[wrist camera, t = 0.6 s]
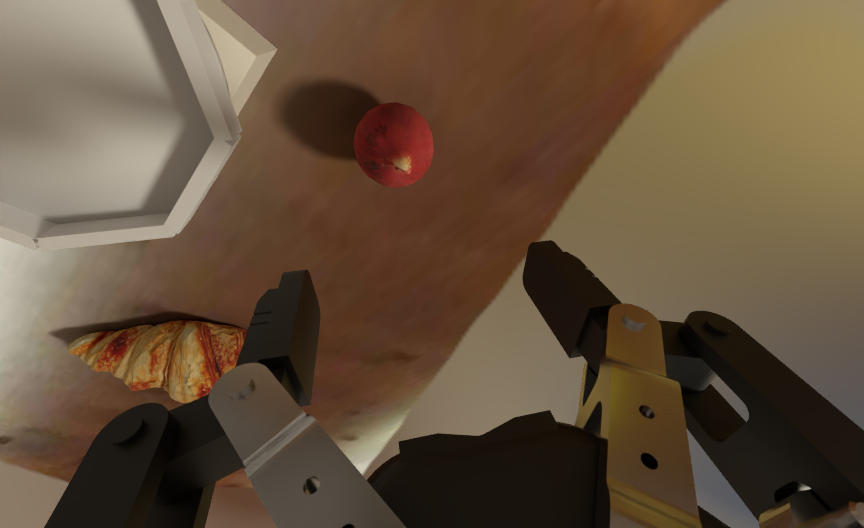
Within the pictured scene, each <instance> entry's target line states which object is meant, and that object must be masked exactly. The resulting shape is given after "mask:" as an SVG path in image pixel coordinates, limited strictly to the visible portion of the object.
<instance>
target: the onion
mask: <svg viewBox="0 0 864 528" xmlns="http://www.w3.org/2000/svg"><path fill="white" fill-rule="evenodd" d="M353 146H354V150H355V154H356V159H357V162H358V164H359V166H360V167H361V168H362V169H363V171H364V172H365V173H366V174H367V176H368V177H369V178H371V179H373V180H375V181H376V182H378V183H380V184H382V185H383V186H389V187H395V188H398V187H402V186H407V185H410V184H412V183H414V182H416V181H417V180H419V179H421V178H422V177H423V175H424V174H425V172H426V171H427V169H428V168H429V167H430V165H431V161H432V157H433V153H434V148H433V138H432V132H431V130H430V128H429V126H428V124H427V122H426V120H425V118H424V117H423V116H421V115H420V114H419V113H418V112H417V111H416V110H415V109H414V108H413V107H411V106H407V105H403V104H400V103H396V102H395V103H386V104H380V105H378V106H376V107H374V108H373V109H371V110H369V111H368V112H367V113H366V114H365V116H364V117H363V118H362V120H361V121H360V122H359V124H358V125H357V128H356V132H355V136H354V141H353Z"/></svg>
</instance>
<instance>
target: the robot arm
mask: <svg viewBox="0 0 864 528" xmlns="http://www.w3.org/2000/svg"><path fill="white" fill-rule="evenodd" d="M523 285H524V288H525V290H526V292H527V293H528V295H529V296H530V298H531V299H532V301H533V303H534V304H535V306H536V307H537V309H538V310H539V312H540V313H541V315H542V316H543V318H544V319H545V321H546V323H547V324H548V326H549V327H550V329H551V330H552V332H553V333H554V335H555V336H556V338H557V340H558V341H559V342H560V344H561V345H562V347H563V349H564V350H565V352H566V353H567V355H568V356H569V358H574V357H580V356H583V357H584V358H585V359H586V363H585V365H584V369H583V377H582V385H581V393H580V402H579V408H578V414H577V419H576V422H575V425H574V426H573V425H570V424H566V423H561V422H556V421H555V419H554V417H553V415H552V414H551V411H549V410H548V411H544V412H539V413H534V414H529V415H524V416H520V417H515V418H513V419H511V420H509V421H508V422H506V423H504V424H502V425H500V426H498V427H496V428H495V429H493V430H491V431H489V432H487V433H485V434H483V435H480V436H470V435H453V434H439V433H438V434H433V435H428V436H423V437H418V438H413V439H409V440H404V441H400V442H399V450H400V454H398V455H396V456H394V457H392V458H390V459H389V460H388V461H386V462H385V463H383V464H382V465H381V466H380V467H379V468H378V469H377V470H375V471H374V473H373V474H372V475H371V476H370V477H369V478H368V479H367V480H366V479H365V478H364V477H363V476H362V474H361V473H360V472H359V471H358V470H357V469H356V467H355V466H354V465H353V464H352V463H351V461H350V460H349V459H348V458H347V457H346V455H345V454H344V453H343V452H342V451H341V450H340V448H339V447H338V446H337V445H336V444H335V442H334V441H333V440H332V439H331V438H330V436H329V435H328V434H327V433H326V432H325V431H324V429H323V428H322V427H321V426H320V425H319V423H318V422H317V421H316V420H315V419H314V418H313V417H312V416H311V415H309V414H308V415H306V414H305V413H304V411H303V410H302V409H301V408H300V407H301V406H306V405H310V404H311V396H312V387H313V378H314V369H315V361H316V352H317V343H318V335H319V326H320V308H319V303H318V299H317V296H316V293H315V290H314V286H313V283H312V280H311V277H310V274H309V272H308V270H300V271H292V272H284V273H283V274H282V277H281V281H280V284H279V288H277V289H269V290H268V291H267V292H266V293H265V294H264V295H263V296H262V297H261V298H260V300H259V301H258V303H257V306H256V308H255V311H254V316H253V317H252V320H251V323H250V327H249V328H248V331H247V334H246V337H245V340H244V343H243V346H242V349H241V351H240V354H239V357H238V360H237V363H236V366H235V368H233V369H231V370H229V371H228V372H226V373H225V374H224V375H223V376H221V377H220V378H219V379H218V380H217V381H216V383H215V384H214V385H213V387H212V389H211V391H210V393H209V394H207V395H205V396H203V397H201V398H199V399H196V400H194V401H191V402H189V403H187V404H184V405H182V406H180V407H177V408H175V409H173V410H170V411H168V410H167V409H166V408H165V407H164V406H163V405H161V404H158V403H146V404H142V405H138V406H136V407H133V408H131V409H129V410H127V411H125V412H123V413H122V414H120V415H118V416H117V417H116V418H114V419H113V420H112V421H111V422H109V423H108V424H107V425H106V426H105V427H104V428H103V429H102V430H101V431H100V432H99V434H98V435H97V436H96V438H95V439H94V441H93V442H92V444H91V446H90V448H89V449H88V451H87V453H86V455H85V457H84V458H83V460H82V462H81V464H80V465H79V467H78V469H77V471H76V472H75V474H74V476H73V478H72V479H71V481H70V483H69V485H68V487H67V488H66V490H65V492H64V494H63V495H62V497H61V499H60V501H59V503H58V504H57V506H56V508H55V509H54V511H53V513H52V515H51V517H50V518H49V520H48V522H47V524H46V525H45V527H44V528H204V527H205V524H206V520H207V516H208V512H209V508H210V504H211V499H212V495H213V491H214V487H215V483H216V481H218V480H220V479H222V478H224V477H226V476H227V475H229V474H231V473H233V472H235V471H237V470H239V469H241V468H243V467H244V466H245V467H244V470H245V472H246V474H247V476H248V478H249V480H250V482H251V483H252V485H253V487H254V488H255V490H256V492H257V493H258V495H259V497H260V499H261V500H262V502H263V504H264V506H265V507H266V509H267V511H268V512H269V514H270V516H271V518H272V519H273V521H274V523H275V524H276V526H277V528H730V527H729V526H727V525H726V524H724V523H723V522H721V521H720V520H718V519H717V518H716V517H714V516H713V515H711V514H710V513H708V512H707V511H705V510H704V509H703V508H701V507H700V506H698V505H697V498H696V491H695V484H694V477H693V471H692V464H691V456H690V449H689V442H688V435H687V429H688V430H689V431H690V433H691V434H692V435H693V437H694V438H695V439H696V441H697V442H698V443H699V444H700V446H701V447H702V448H703V450H704V451H705V452H706V454H707V455H708V456H709V457H710V459H711V460H712V461H713V463H714V464H715V465H716V467H717V468H718V469H719V471H720V472H721V473H722V475H723V476H724V477H725V478H726V480H727V481H728V482H729V484H730V485H731V486H732V488H733V489H734V490H735V492H736V493H737V494H738V495H739V497H740V498H741V499H742V501H743V502H744V503H745V504H746V506H747V507H748V508H749V510H750V511H751V512H752V514H753V515H754V516H755V517H756V519H757V520H758V521H759V526H760V528H864V430H862V429H861V428H860V427H859V426H858V425H856V424H855V423H854V422H853V421H852V420H850V419H849V418H848V417H847V416H846V415H844V414H843V413H842V412H841V411H839V410H838V409H837V408H836V407H835V406H834V405H832V404H831V403H830V402H829V401H828V400H826V399H825V398H824V397H823V396H822V395H821V394H819V393H818V392H817V391H816V390H815V389H813V388H812V387H811V386H810V385H809V384H807V383H806V382H805V381H804V380H803V379H801V378H800V377H799V376H798V375H797V374H795V373H794V372H793V371H792V370H790V369H789V368H788V367H787V366H786V365H785V364H783V363H782V362H781V361H780V360H779V359H777V358H776V357H775V356H774V355H773V354H771V353H770V352H769V351H767V349H765V348H764V347H763V346H762V345H761V344H759V343H758V342H757V341H756V340H755V339H753V338H752V337H751V336H750V335H749V334H747V333H746V332H745V331H743V329H741V328H740V327H739V326H738V325H737V324H735V323H734V322H732V321H731V320H729V319H727V318H725V317H723V316H721V315H718V314H715V313H712V312H707V311H694V312H691V313H690V314H689V315H688V317H687V318H686V320H685V321H684V323H680V322H670V321H660V320H658V319H657V318H656V317H655V316H654V315H652V314H651V313H650V312H648V311H647V310H645V309H643V308H641V307H638V306H635V305H632V304H622V303H621V302H620V301H619V300H618V299H617V298H616V297H615V296H614V295H613V294H612V292H611V291H610V290H608V288H607V287H605V285H604V284H603V283H602V282H601V281H600V280H599V279H598V278H597V277H596V278H595V275H594V274H593V273H592V272H591V271H590V270H588V268H587V267H586V266H585V265H584V264H583V263H582V262H581V260H580V259H578V258H576V257H575V256H573V255H571V254H569V253H568V252H563V251H562V250H561V249H560V248H559V247H558V246H557V245H556V243H555V242H553V241H551V240H550V241H541V242H533V243H531V244H530V245H529V248H528V252H527V257H526V262H525V267H524V272H523ZM717 375H718V376H719V377H720V378H721V379H722V380H723V381H724V382H725V384H726V385H727V386H729V388H730V389H731V390H732V391H733V392H734V393H735V394H736V395H737V396H738V397H739V398H740V399H741V400H742V401H743V402H744V403H745V405H746V407H747V409H748V412H749V419H748V421H747V422H745V420H744V419H743V418H742V417H741V416H740V415H739V414H738V413H737V412H736V411H735V410H734V408H733V407H732V406H731V405H730V404H729V403H728V402H727V401H726V400H725V399H724V398H723V397H722V396H721V395H720V393H719V392H718V391H717V390H716V389H715V388H714V387H713V386H712V385H711V384H710V383H711V382H712V381H713V380H714V379H715V377H716V376H717Z"/></svg>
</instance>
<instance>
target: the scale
mask: <svg viewBox="0 0 864 528" xmlns="http://www.w3.org/2000/svg"><path fill="white" fill-rule="evenodd" d="M276 51H277V48H276V47H274V46H273V45H272V44H271V43H270V42H269V41H267V40H266V39H265V38H264V37H263V36H262V35H260V34H259V33H258V32H257V31H256V30H255V29H253V28H252V27H251V26H250V25H249V24H248V23H246V22H245V21H244V20H243V19H242V18H241V17H239V16H238V15H237V14H236V13H235V12H234V11H232V10H231V9H230V8H229V7H228V6H227V5H225V4H224V3H223V2H222V1H221V0H0V237H1V238H3V239H6V240H9V241H12V242H14V243H17V244H20V245H23V246H25V247H28V248H31V249H34V250H35V249H36V248H38V247H40V248H41V250H42V251H48V250H57V249H66V248H75V247H85V246H94V245H103V244H112V243H121V242H131V241H140V240H149V239H158V238H167V237H174V236H175V235H176V233H177V234H179V233H180V232H181V230H182V229H183V228H184V227H185V226H186V224H187V223H188V222H189V221H190V219H191V218H192V216H193V215H194V213H195V211H196V210H197V208H198V207H199V205H200V203H201V202H202V200H203V198H204V197H205V195H206V194H207V192H208V190H209V189H210V187H211V186H212V184H213V183H214V181H215V180H216V179H217V177H218V176H219V174H220V172H221V170H222V168H223V166H224V164H225V163H226V161H227V160H228V158H229V156H230V155H231V153H232V152H233V150H234V148H235V147H236V145H237V143H238V142H239V140H240V139H241V137H242V136H240V135H239V133H240V132H241V131H242V129H241V126H240V123H239V120H238V118H237V116H238V114H239V113H240V111H241V109H242V108H243V106H244V104H245V103H246V101H247V99H248V98H249V96H250V94H251V93H252V91H253V89H254V88H255V86H256V84H257V83H258V81H259V79H260V78H261V76H262V74H263V73H264V71H265V69H266V67H267V66H268V64H269V62H270V61H271V59H272V57H273V56H274V54H275V52H276Z"/></svg>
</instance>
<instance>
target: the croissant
mask: <svg viewBox="0 0 864 528" xmlns="http://www.w3.org/2000/svg"><path fill="white" fill-rule="evenodd" d="M246 334H247V331H246V330H244V329H242V328H239V327H235V326H228V325H218V324H213V323H208V322H202V321H188V320H177V321H170V322H168V323H163V324H158V325H157V326H152V325H142V326H135V327H131V328H129V329H124V330H119V331H117V332H114V331H109V330H108V331H102V332H96V333H91V334H87V335H84V336H82V337H80V338H77V339H76V340H75V341H73V342H72V343H71V344H70V345H69V346H68V348H67V350H68V352H69V353H71V354H73V355H79V357H80V358H81V359H82V361H83V362H85V363H86V364H87V365H88V366H90V367H91V369H92V370H94V371H108V372H111V373H112V374H113V376H115V377H117V378H120V379H122V380H124V383H125V385H127V386H129V387H130V390H131V391H138V390H143V389H148V388H152V387H158V388H162V387H163V388H164V390H165V391H167V392H169V395H170V397H171V398H172V399H174V400H176V401H179V402H181V403H189V402H191V401H194V400H196V399H199V398H201V397H203V396H205V395H207V394H209V393H210V391H211V389H212V387H213V385H214V384H215V383H216V381H217V380H218V379H219V378H220V377H221V376H223V375H224V374H225V373H226V372H228V371H229V370H231V369H233V368H235V366H236V363H237V360H238V357H239V354H240V351H241V349H242V346H243V343H244V340H245V337H246Z"/></svg>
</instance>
